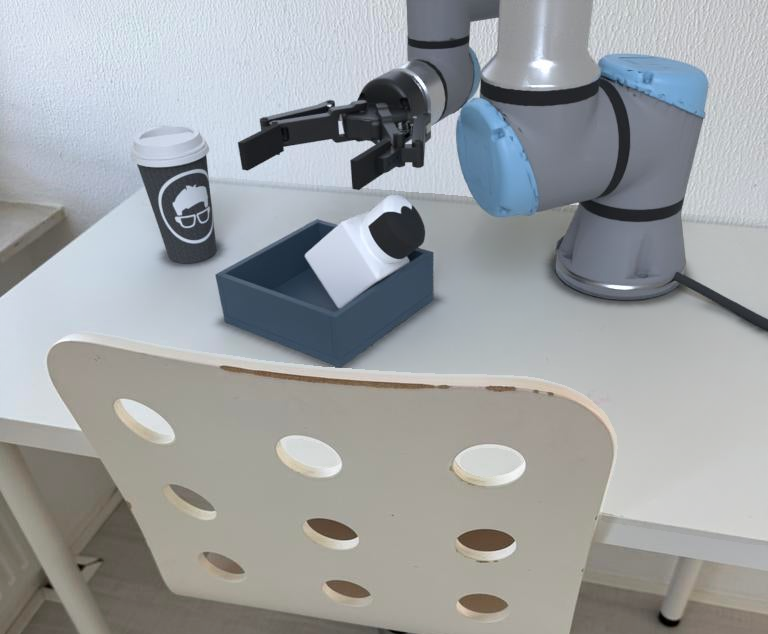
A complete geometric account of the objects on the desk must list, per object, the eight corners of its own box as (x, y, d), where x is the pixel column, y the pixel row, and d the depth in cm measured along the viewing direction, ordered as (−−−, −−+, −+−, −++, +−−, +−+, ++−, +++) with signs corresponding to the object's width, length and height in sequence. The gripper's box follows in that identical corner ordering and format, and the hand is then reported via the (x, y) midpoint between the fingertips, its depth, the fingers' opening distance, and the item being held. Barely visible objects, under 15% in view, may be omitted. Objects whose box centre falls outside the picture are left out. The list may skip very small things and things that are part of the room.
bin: (433, 299, 92) (433, 251, 88) (340, 367, 82) (335, 317, 78) (321, 264, 100) (316, 218, 96) (224, 322, 90) (214, 274, 86)
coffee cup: (235, 237, 107) (214, 121, 96) (218, 269, 100) (193, 148, 90) (169, 237, 108) (141, 122, 97) (147, 268, 101) (115, 149, 91)
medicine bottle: (370, 292, 92) (442, 238, 83) (337, 311, 87) (411, 255, 78) (337, 240, 90) (407, 180, 82) (302, 255, 85) (373, 193, 77)
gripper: (496, 153, 87) (407, 223, 74) (315, 127, 97) (207, 185, 84) (500, 80, 82) (405, 141, 69) (308, 60, 92) (192, 111, 79)
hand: (296, 165), depth 77 cm, fingers open, 13 cm apart
